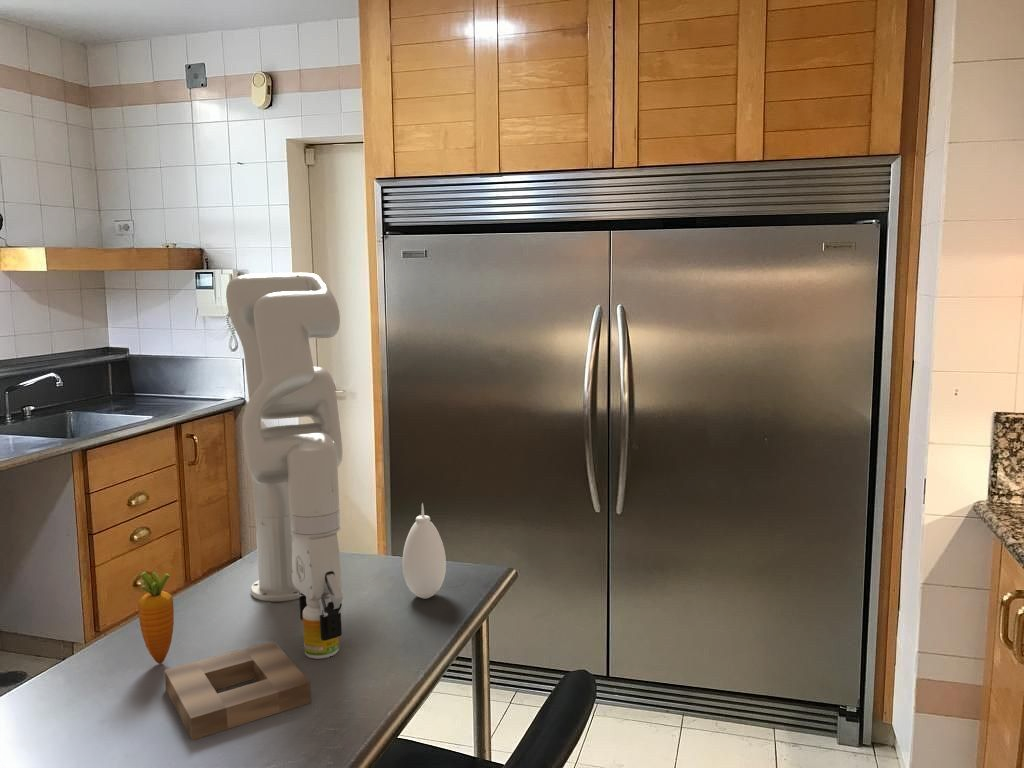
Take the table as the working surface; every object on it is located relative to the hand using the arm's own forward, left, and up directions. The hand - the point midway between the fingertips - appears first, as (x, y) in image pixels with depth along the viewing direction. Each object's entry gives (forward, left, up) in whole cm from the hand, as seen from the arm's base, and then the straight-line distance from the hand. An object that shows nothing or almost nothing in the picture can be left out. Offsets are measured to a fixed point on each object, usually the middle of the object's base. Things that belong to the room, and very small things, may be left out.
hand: (320, 627), depth 129 cm
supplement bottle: (0, 0, -4) cm, 4 cm away
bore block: (+6, -15, -4) cm, 17 cm away
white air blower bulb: (-10, +24, -4) cm, 26 cm away
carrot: (-11, -22, -4) cm, 25 cm away
